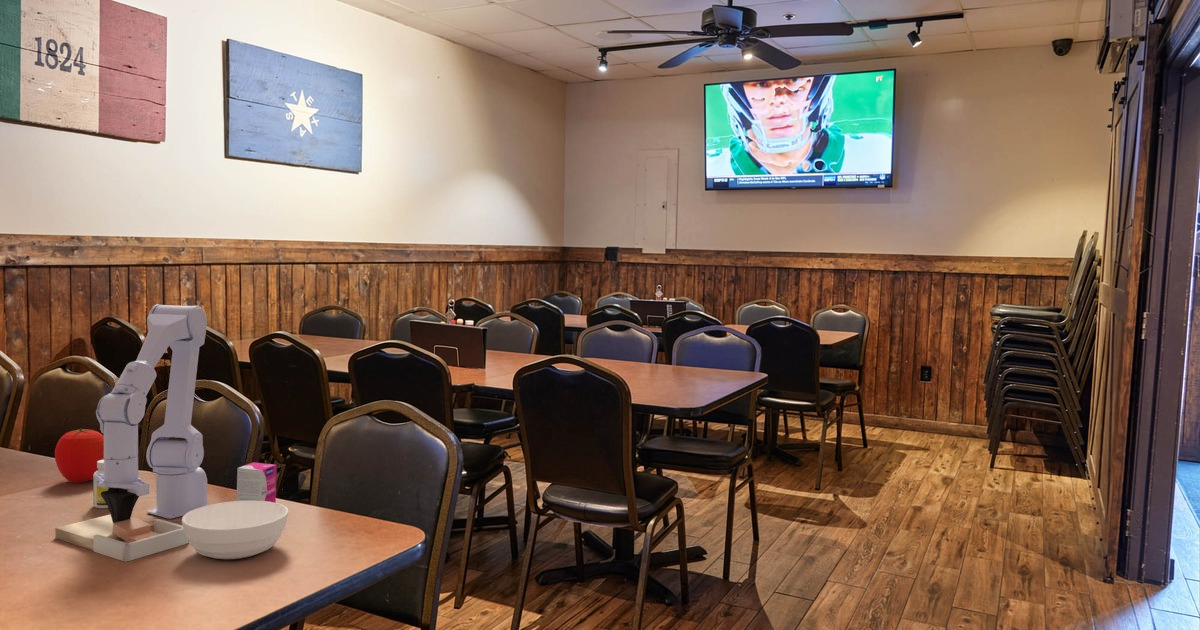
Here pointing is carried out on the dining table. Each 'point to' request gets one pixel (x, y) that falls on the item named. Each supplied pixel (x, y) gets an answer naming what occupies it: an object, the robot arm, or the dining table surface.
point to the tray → (142, 542)
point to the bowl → (234, 528)
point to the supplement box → (256, 482)
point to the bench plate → (89, 531)
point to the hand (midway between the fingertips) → (121, 526)
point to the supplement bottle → (99, 488)
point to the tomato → (79, 454)
